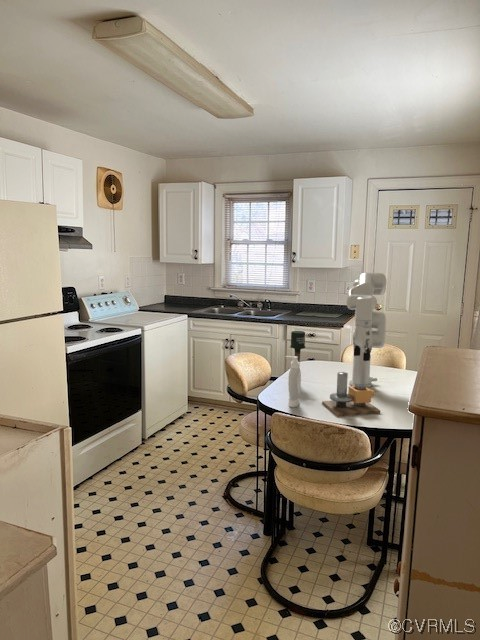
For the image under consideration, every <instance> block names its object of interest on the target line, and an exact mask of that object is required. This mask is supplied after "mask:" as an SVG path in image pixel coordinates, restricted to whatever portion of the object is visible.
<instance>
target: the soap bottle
mask: <svg viewBox="0 0 480 640" xmlns="http://www.w3.org/2000/svg"><path fill="white" fill-rule="evenodd" d="M285 358H290V359H292V360H291V362H290V369H289V373H288V393H289V395H288V396H289V398H288V404H287V405H288V407H290V408H296V407H298V406H299V405H300V393H301V386H302V385H301V382H302V375H301V374H302V373H301V372H302V371H301V367H300V365H301V363H299V362H298V360H297V358H298V357H297V356H295V355H294V356H292V355H285Z"/></svg>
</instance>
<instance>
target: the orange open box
mask: <svg viewBox="0 0 480 640" xmlns="http://www.w3.org/2000/svg"><path fill="white" fill-rule="evenodd" d="M347 394H350V395H352V396H353V402H354V403H371V402H372V397H376V391H375V390H374V389H373V390H372V389H370V388H369V387H366V390H356V389H355V386H352V385H350V386H348V388H347Z"/></svg>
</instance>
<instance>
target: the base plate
mask: <svg viewBox="0 0 480 640" xmlns="http://www.w3.org/2000/svg"><path fill="white" fill-rule="evenodd" d="M321 404H322V405H323V406H324V407H325V408H326V409H327V410H328V411H330V412H331V413H332V414H334V415H335V416H336V417H338V418H339V417H351V416H352V417H353V416H363V415H364V416H365V415H366V416H367V415H378V414H381V410H380V408H378V407H376V406H375V405H373V404H372V403H371V402H368V403H365V406H364V407H357V406H356V405H354V402H353V401H351V402H346V408H338V407H336V401H333V400H322V401H321Z"/></svg>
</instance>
